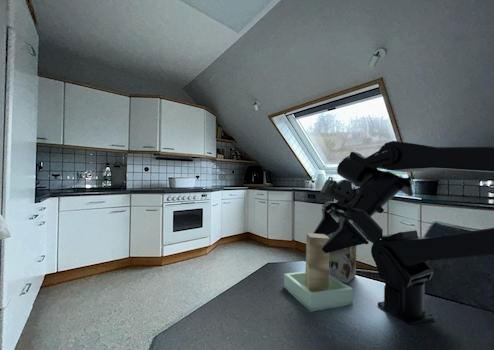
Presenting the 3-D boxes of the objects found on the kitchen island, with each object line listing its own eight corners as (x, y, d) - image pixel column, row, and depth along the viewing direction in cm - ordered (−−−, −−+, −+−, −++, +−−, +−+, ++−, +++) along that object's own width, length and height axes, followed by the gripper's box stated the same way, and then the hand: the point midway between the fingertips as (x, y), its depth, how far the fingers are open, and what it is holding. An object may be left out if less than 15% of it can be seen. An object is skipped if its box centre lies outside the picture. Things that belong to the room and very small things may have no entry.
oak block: (323, 288, 49) (324, 234, 49) (328, 297, 45) (329, 238, 45) (305, 287, 49) (306, 233, 50) (308, 296, 45) (309, 237, 46)
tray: (320, 282, 53) (320, 269, 53) (352, 304, 44) (353, 288, 44) (283, 287, 50) (284, 273, 50) (310, 311, 41) (310, 295, 41)
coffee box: (348, 283, 51) (351, 213, 53) (320, 276, 55) (324, 210, 57) (356, 276, 58) (358, 214, 60) (331, 269, 62) (334, 212, 64)
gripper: (331, 169, 57) (286, 210, 57) (366, 164, 38) (298, 224, 38) (362, 202, 56) (316, 243, 56) (412, 212, 37) (343, 273, 38)
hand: (317, 244), depth 47 cm, fingers open, 9 cm apart
